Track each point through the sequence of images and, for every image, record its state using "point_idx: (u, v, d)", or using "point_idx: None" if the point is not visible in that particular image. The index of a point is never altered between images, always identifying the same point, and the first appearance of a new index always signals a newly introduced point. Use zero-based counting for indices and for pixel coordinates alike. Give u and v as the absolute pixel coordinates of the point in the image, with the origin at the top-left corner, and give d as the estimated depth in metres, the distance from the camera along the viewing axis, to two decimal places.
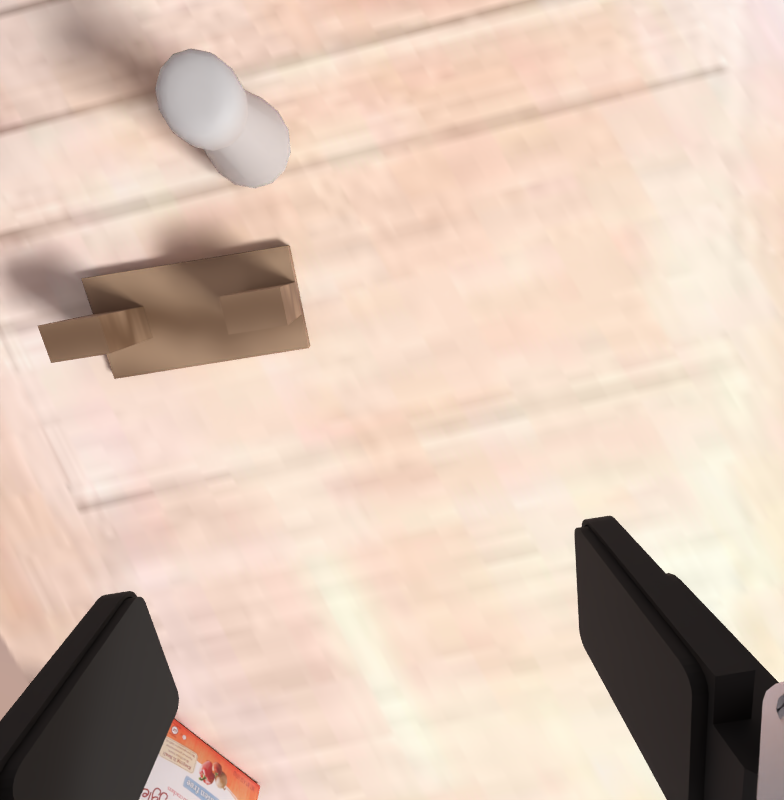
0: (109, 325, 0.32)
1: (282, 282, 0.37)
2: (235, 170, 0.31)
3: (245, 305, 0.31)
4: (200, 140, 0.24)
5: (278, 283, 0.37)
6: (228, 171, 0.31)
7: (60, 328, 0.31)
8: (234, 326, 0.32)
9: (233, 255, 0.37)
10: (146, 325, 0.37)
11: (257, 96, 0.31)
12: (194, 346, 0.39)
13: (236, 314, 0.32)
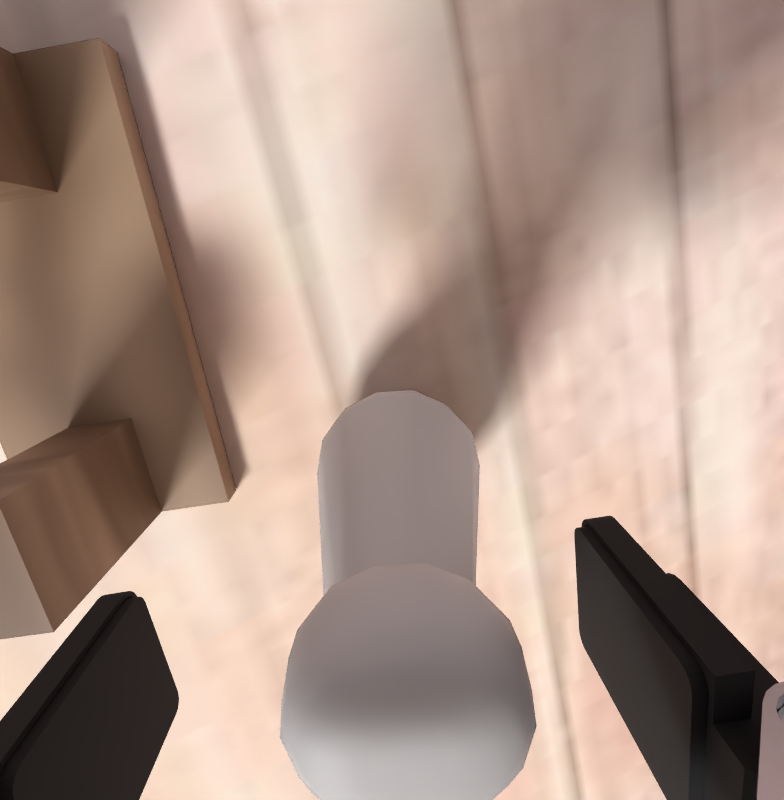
0: None
1: (157, 489, 0.19)
2: (322, 510, 0.14)
3: None
4: (285, 736, 0.08)
5: (154, 482, 0.19)
6: (325, 483, 0.14)
7: None
8: None
9: (198, 402, 0.18)
10: (5, 197, 0.16)
11: None
12: None
13: None
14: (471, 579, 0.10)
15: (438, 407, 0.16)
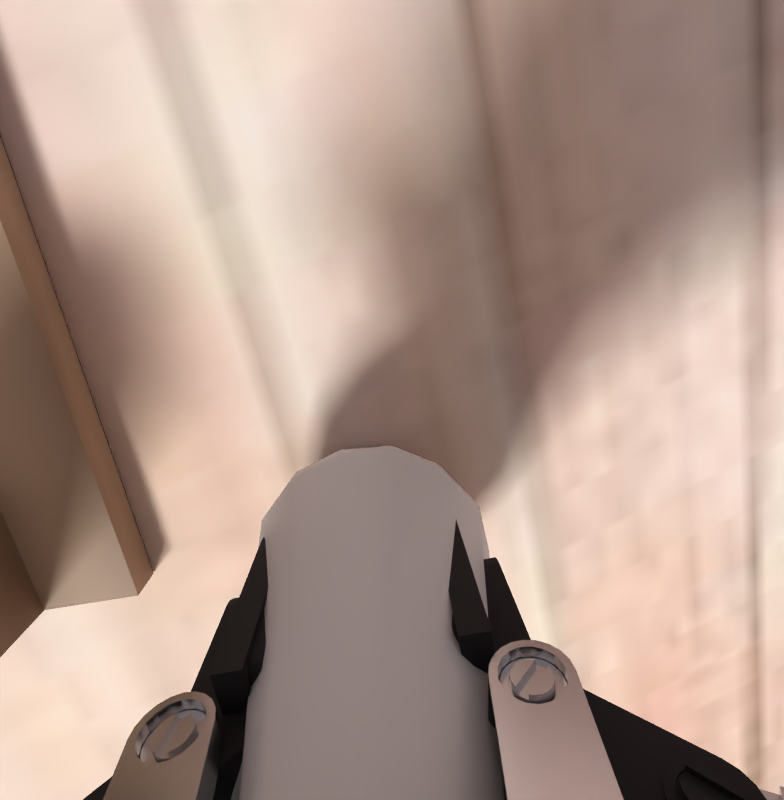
0: None
1: (36, 580, 0.14)
2: None
3: None
4: None
5: (31, 571, 0.13)
6: None
7: None
8: None
9: (86, 462, 0.13)
10: None
11: None
12: None
13: None
14: None
15: (430, 475, 0.11)
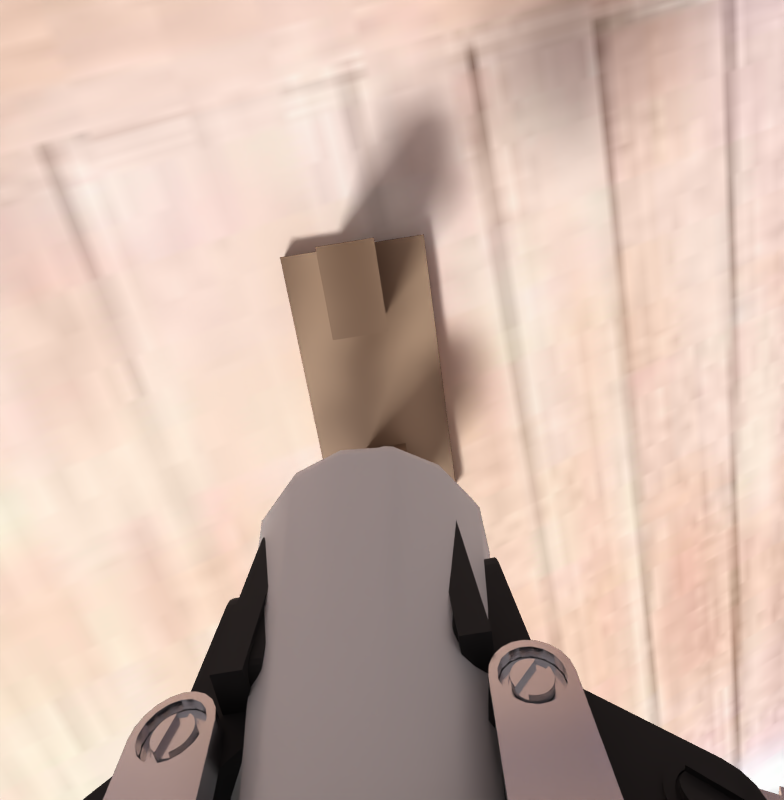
0: None
1: None
2: None
3: None
4: None
5: None
6: None
7: (369, 272, 0.21)
8: None
9: (447, 433, 0.30)
10: None
11: None
12: (331, 375, 0.28)
13: None
14: None
15: (430, 476, 0.11)
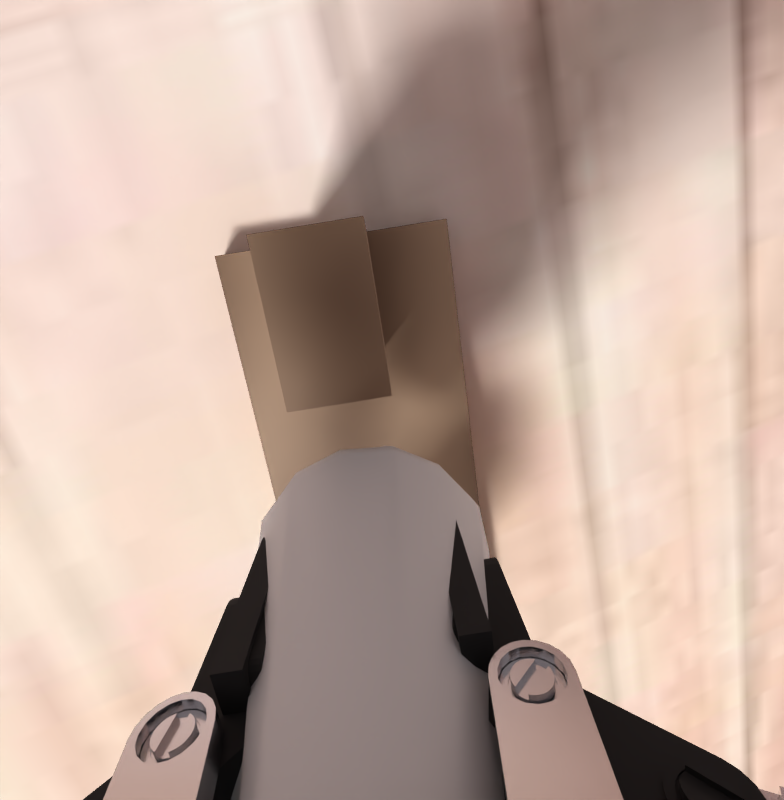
0: None
1: None
2: None
3: None
4: None
5: None
6: None
7: (355, 284, 0.11)
8: None
9: None
10: None
11: None
12: (302, 439, 0.18)
13: None
14: None
15: (430, 475, 0.11)
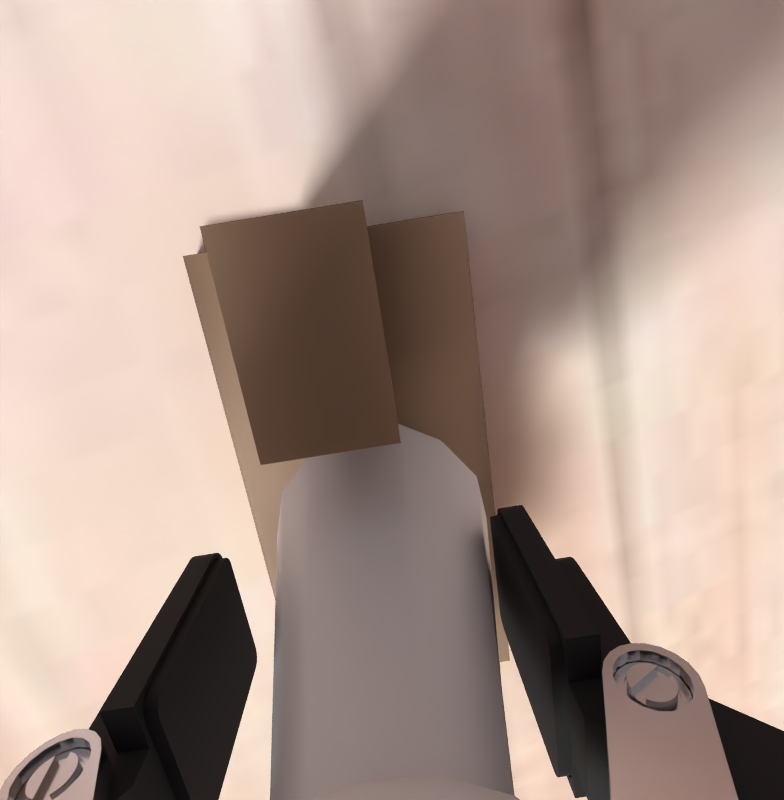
0: None
1: None
2: (279, 601, 0.10)
3: None
4: None
5: None
6: (282, 561, 0.10)
7: (350, 295, 0.08)
8: None
9: None
10: None
11: None
12: (290, 472, 0.16)
13: None
14: (506, 753, 0.06)
15: (433, 447, 0.12)
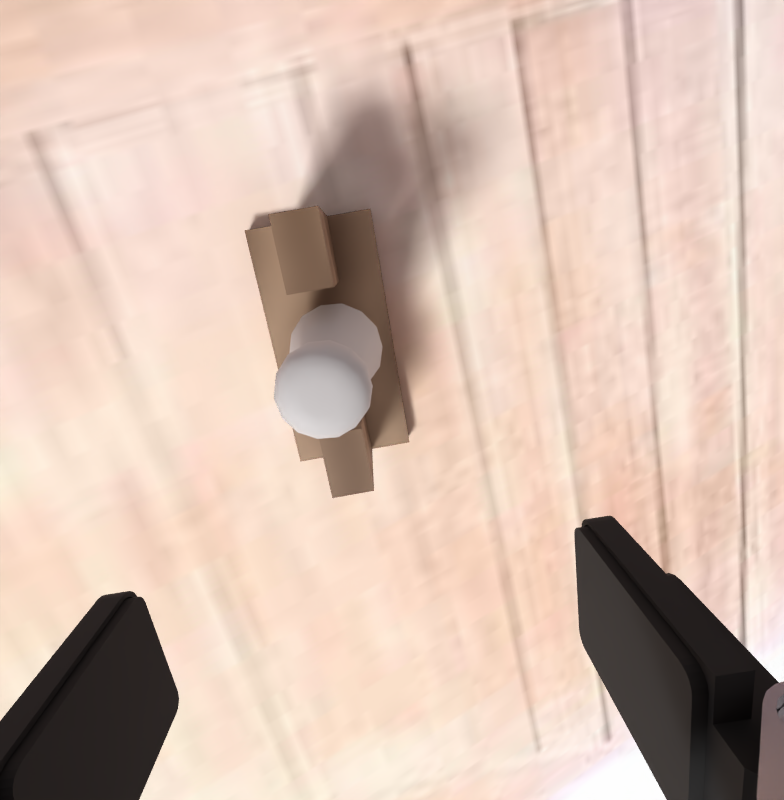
0: None
1: (371, 436, 0.35)
2: None
3: (352, 455, 0.28)
4: (276, 395, 0.20)
5: (370, 432, 0.34)
6: (292, 346, 0.27)
7: (315, 235, 0.24)
8: (328, 442, 0.28)
9: (398, 387, 0.34)
10: None
11: (376, 370, 0.29)
12: None
13: (342, 445, 0.28)
14: None
15: (355, 310, 0.29)
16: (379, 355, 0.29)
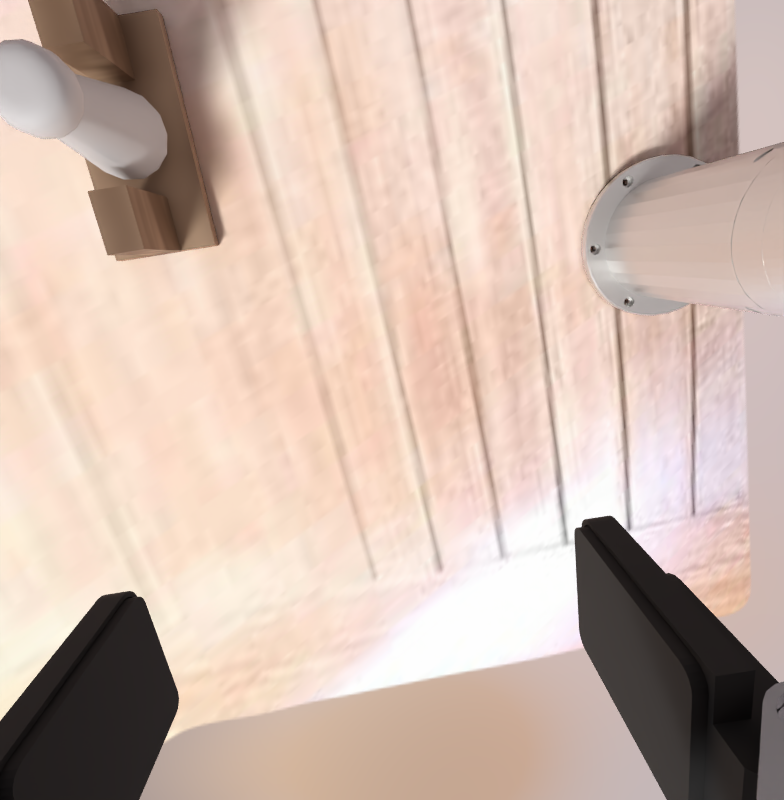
0: (81, 50, 0.30)
1: (179, 237, 0.38)
2: None
3: (121, 212, 0.31)
4: None
5: (177, 233, 0.38)
6: None
7: None
8: (97, 198, 0.31)
9: (200, 188, 0.37)
10: (112, 81, 0.35)
11: (154, 148, 0.33)
12: None
13: (110, 202, 0.31)
14: (81, 85, 0.27)
15: (134, 93, 0.33)
16: (157, 135, 0.33)
